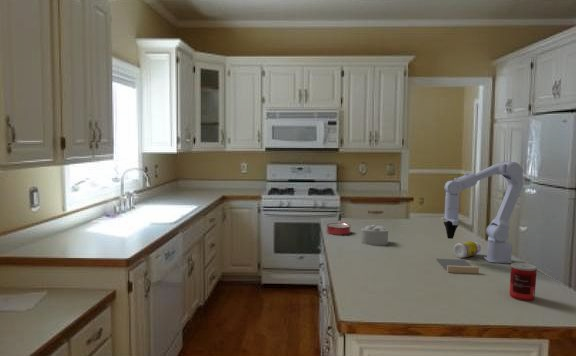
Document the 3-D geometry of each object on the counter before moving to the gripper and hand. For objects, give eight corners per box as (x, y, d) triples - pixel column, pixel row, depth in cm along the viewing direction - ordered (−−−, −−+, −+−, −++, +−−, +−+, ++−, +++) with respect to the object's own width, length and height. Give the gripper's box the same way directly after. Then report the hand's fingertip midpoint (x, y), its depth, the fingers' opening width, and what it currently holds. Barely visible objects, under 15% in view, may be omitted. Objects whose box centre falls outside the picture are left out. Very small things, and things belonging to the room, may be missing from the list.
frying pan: (325, 223, 278) (325, 213, 278) (346, 224, 278) (346, 214, 277) (327, 235, 247) (327, 223, 246) (351, 235, 246) (351, 224, 245)
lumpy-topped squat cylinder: (388, 245, 224) (389, 228, 224) (362, 244, 225) (362, 227, 224) (385, 240, 235) (385, 224, 234) (360, 240, 235) (360, 223, 235)
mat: (464, 260, 199) (464, 255, 198) (478, 273, 179) (478, 267, 179) (436, 259, 200) (436, 253, 199) (447, 272, 181) (447, 266, 180)
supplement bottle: (468, 253, 198) (485, 249, 205) (459, 240, 202) (477, 237, 209) (458, 261, 203) (476, 257, 210) (450, 248, 206) (467, 245, 213)
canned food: (526, 293, 157) (528, 262, 156) (539, 301, 150) (541, 269, 149) (504, 293, 157) (506, 262, 156) (517, 301, 149) (519, 268, 148)
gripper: (438, 205, 206) (437, 234, 207) (446, 210, 192) (445, 241, 193) (454, 205, 205) (452, 234, 207) (463, 210, 191) (462, 242, 192)
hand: (450, 238), depth 200 cm, fingers closed
